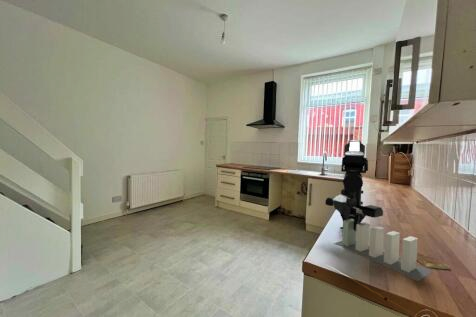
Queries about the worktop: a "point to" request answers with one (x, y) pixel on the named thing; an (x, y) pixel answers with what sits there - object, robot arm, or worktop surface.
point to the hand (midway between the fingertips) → (350, 228)
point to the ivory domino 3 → (391, 247)
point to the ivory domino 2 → (376, 241)
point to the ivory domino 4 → (409, 253)
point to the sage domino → (348, 232)
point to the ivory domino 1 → (362, 236)
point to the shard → (431, 262)
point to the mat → (414, 274)
